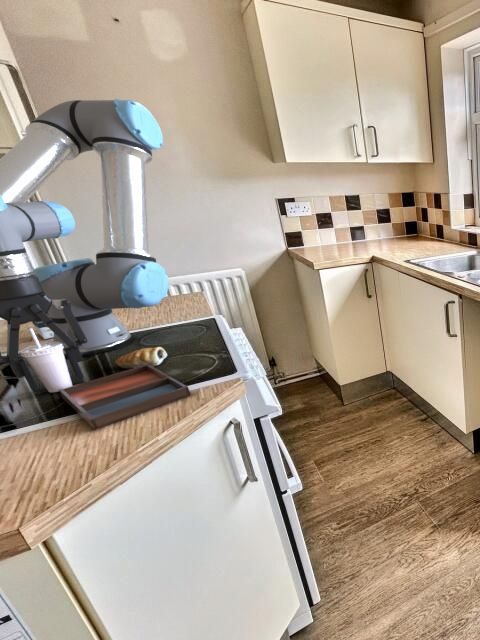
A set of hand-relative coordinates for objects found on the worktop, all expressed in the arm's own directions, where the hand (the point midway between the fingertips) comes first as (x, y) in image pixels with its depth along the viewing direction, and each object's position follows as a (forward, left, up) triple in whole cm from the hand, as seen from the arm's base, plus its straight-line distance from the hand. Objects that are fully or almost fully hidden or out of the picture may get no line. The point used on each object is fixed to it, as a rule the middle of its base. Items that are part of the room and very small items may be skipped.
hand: (57, 382), depth 91 cm
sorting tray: (+18, +6, -1) cm, 19 cm away
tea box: (-53, +13, -2) cm, 55 cm away
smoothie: (0, 0, -2) cm, 2 cm away
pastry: (0, +15, -2) cm, 15 cm away
